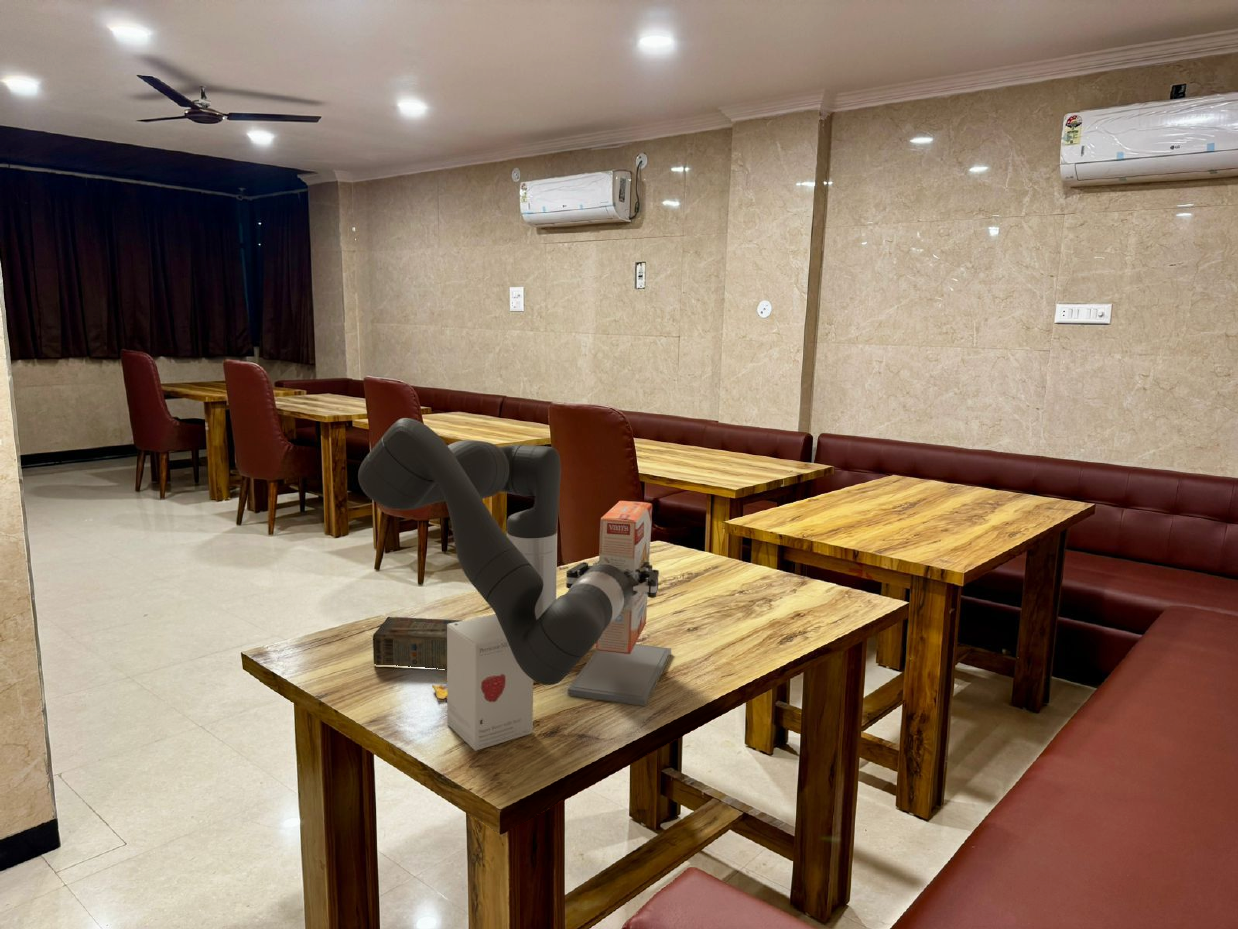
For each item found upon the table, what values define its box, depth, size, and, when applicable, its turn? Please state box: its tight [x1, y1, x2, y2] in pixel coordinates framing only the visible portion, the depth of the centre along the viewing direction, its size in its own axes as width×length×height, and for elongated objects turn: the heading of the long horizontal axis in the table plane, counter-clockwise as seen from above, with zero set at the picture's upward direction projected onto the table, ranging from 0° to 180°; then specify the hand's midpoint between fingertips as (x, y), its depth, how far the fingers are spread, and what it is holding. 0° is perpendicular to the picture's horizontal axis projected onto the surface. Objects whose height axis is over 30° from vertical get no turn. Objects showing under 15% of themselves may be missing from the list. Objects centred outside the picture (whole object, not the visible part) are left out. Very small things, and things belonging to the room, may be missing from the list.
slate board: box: [567, 643, 672, 707], centre depth 131 cm, size 20×12×1 cm, turn 165°
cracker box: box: [595, 500, 653, 654], centre depth 128 cm, size 14×6×21 cm, turn 168°
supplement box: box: [446, 613, 534, 752], centre depth 111 cm, size 9×9×15 cm
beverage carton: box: [372, 616, 463, 671], centre depth 133 cm, size 8×19×7 cm, turn 88°
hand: (627, 566), depth 128 cm, fingers closed on cracker box, 6 cm apart
